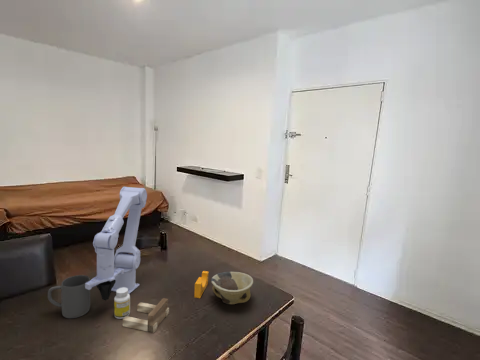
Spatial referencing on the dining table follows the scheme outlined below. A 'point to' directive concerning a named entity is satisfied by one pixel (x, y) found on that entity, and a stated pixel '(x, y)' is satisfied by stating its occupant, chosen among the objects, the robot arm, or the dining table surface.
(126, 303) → the supplement bottle
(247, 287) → the bowl
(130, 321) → the can dock
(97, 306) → the dining table surface
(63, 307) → the mug
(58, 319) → the dining table surface
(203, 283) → the pipe clamp
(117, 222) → the robot arm
